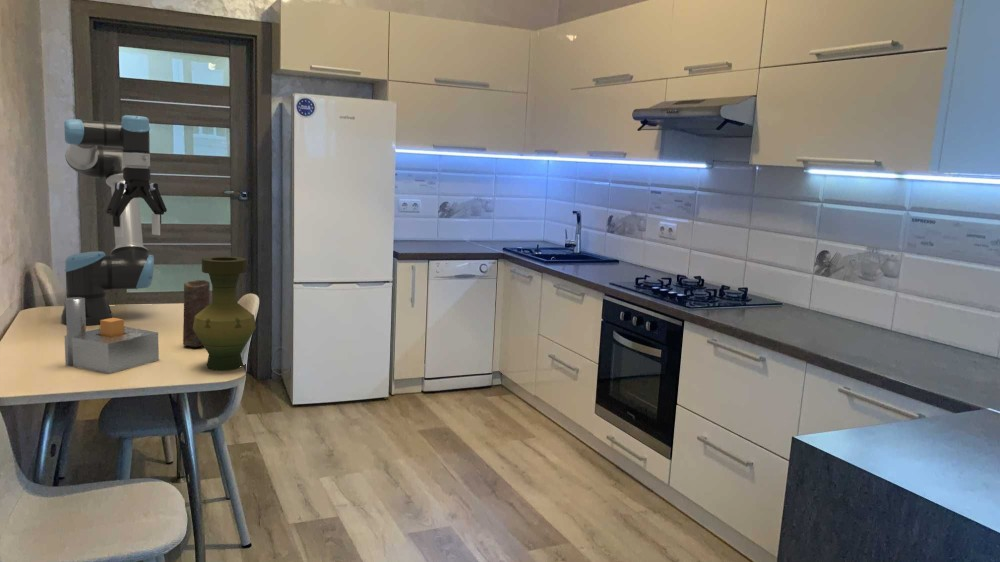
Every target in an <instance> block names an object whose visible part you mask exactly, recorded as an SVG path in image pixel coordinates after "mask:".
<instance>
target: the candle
mask: <svg viewBox="0 0 1000 562" xmlns="http://www.w3.org/2000/svg"><path fill="white" fill-rule="evenodd" d="M210 284H211V282H210V281H208V280H204V279H194V280H190V281H187V282H184V283H183V325H182V327H183V329H182V331H183V332H182V343H183V346H187V347H190V348H199V347H201V346H203V344H202V343H201V341H200V340H199V338H198V336H197V335H196V333H195V332H194V330H193V323H194V316H195V315H196V314H198V313H199V312H200V311H202V310H203V309H204V308H205V307H207V306H208V305H209V304H210V288H211V287H210V286H211V285H210Z"/></svg>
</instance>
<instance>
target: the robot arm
mask: <svg viewBox="0 0 1000 562" xmlns="http://www.w3.org/2000/svg"><path fill="white" fill-rule="evenodd" d="M63 124H64V127H63V129H64V141H65V143H66V144H68V145H69V146H67V148H66V150H65V154H64V156H65V161H66V163H67V165H68V166H69V167H70V168H71V169H72V170H73V171H75V172H76V173H78V174H80V175H83V176H84V177H88V178H94V179H105V183H106V185H107V186H108V187H110V188H111V189H110V191H111V198H110V201H109V203H108V206H107V209H106V211H105V213H106V214H107V215H108V214H109V215H110V216H112V226H113V229H114V241H115V242H114V243H115V247H114V248H113V249H112V250H111V252H110V255H106V253H105V251H101V250H99V251H86V252H80V253H79V252H78V253H76V254H71V255H69V256H67V258H66V259H65V262H64V263H65V268H64V272H65V290H66V291H65V292H66V296H65V297H66V299H67V298H73V297H82V298H85V318H86V326H95V325H100V320H104V319H109V318H114V316H113V312H112V310H111V307H110V305H109V302H108V299H107V291H111V290H113V291H114V290H139V289H148V288H149V287H150V286H151V285H152V282H153V276H154V268H155V267H154V266H155V257H154V255H153V254H149V249H148V248H147V247H145V246H144V242H143V241H144V240H143V232H142V231H143V230H142V220H141V219H142V218H141V206H140V198H141V199H143V200H144V202H145V203H146V204H147V205H148V207H149V208H150V210H151V211H152V213H153V214H152V213H151V235H153V236H161V225H162V215H164V214H165V213H167V212H168V210H167V209H168V208H167V207H166V205H165V202H164V200H163V198H162V196H161V193H160V191H159V184H158V183H156V182H155V183H154V182H150V181H151V169H150V168H149V167H151V150H150V131H151V127H150V119H149V117H146V116H142V115H140V116H139V115H129V114H128V115H123V116H122V117H121V122H116V121H114V122H113V121H102V120H101V121H100V120H89V119H88V120H87V119H79V118H74V119H73V118H72V119H71V118H70V119H66V120H64V123H63ZM60 322H61V323H62V324H64V325H67V321H66V302H65V304H64V307H63V310H62V313H61V316H60Z"/></svg>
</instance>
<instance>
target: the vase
mask: <svg viewBox="0 0 1000 562" xmlns="http://www.w3.org/2000/svg"><path fill="white" fill-rule="evenodd" d="M201 272H202V273H203V274H208V276H209V279H210V284H211V286H212V287H211V294H212V295H211V299H212V300H211V303H209V305H208V306H207V307H205V308H204V309H203V310H202V311H200V312H199V313H198V314H196V315H195V316H194V323H193V330H194V332H195V333H196V335H197V336H198V338H199V340H200V341H201V343H202V344H203V345H202V347H203V348H204V349H205V350H206V352H207V355H208V357H207V362H206V366H207V367H206V368H207V369H208V370H211V371H221V372H222V371H223V372H224V371H226V372H227V371H234V370H237V368H238V369H240V368H239V367H240V366H242V367H243V366H244V364H243V363H244V362H243V359H242V358H243V357H242V355H241V354H242V352H243V350H244V348H245V347H246V345H247V343H248V342H249V340H250V339H251V337H252V335H253V334H254V332H255V331H256V329H257V326H256V319H255V315H254V314H253V313H252V312H250V311H249V310H248V309H246V308H245V307H244V306H242V305H241V304H240V303H238V302H237V297H238V295H237V286H238V282H239V278H240V274H245V273H246V272H247V259H246V258H244V257H239V256H226V255H225V256H223V255H222V256H206V257H203V258H201Z"/></svg>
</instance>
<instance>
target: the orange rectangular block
mask: <svg viewBox="0 0 1000 562" xmlns="http://www.w3.org/2000/svg"><path fill="white" fill-rule="evenodd" d="M99 325H100V326H99V327H100V328H99V329H100V330H101V336H104V337H110V338H112V337H116V336H121V335H124V327H125V322H124V319H122V318H118V317H113V318H109V319H104V320H100V324H99Z"/></svg>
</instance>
